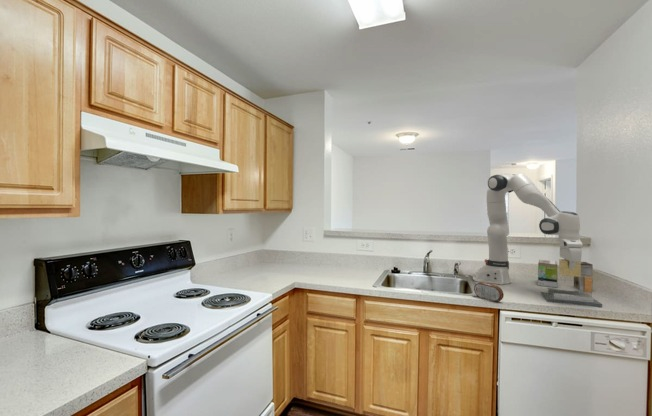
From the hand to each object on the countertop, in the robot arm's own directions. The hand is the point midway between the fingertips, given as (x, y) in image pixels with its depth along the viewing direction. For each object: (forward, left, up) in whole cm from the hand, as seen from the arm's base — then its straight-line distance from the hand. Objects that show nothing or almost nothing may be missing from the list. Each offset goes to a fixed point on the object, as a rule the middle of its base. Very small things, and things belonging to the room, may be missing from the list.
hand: (569, 268), depth 156 cm
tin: (-39, -14, -17) cm, 45 cm away
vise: (0, 0, -17) cm, 17 cm away
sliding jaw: (+1, +7, -15) cm, 17 cm away
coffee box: (+15, +32, -17) cm, 39 cm away
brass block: (0, 0, -4) cm, 4 cm away
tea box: (-1, +38, -17) cm, 41 cm away
